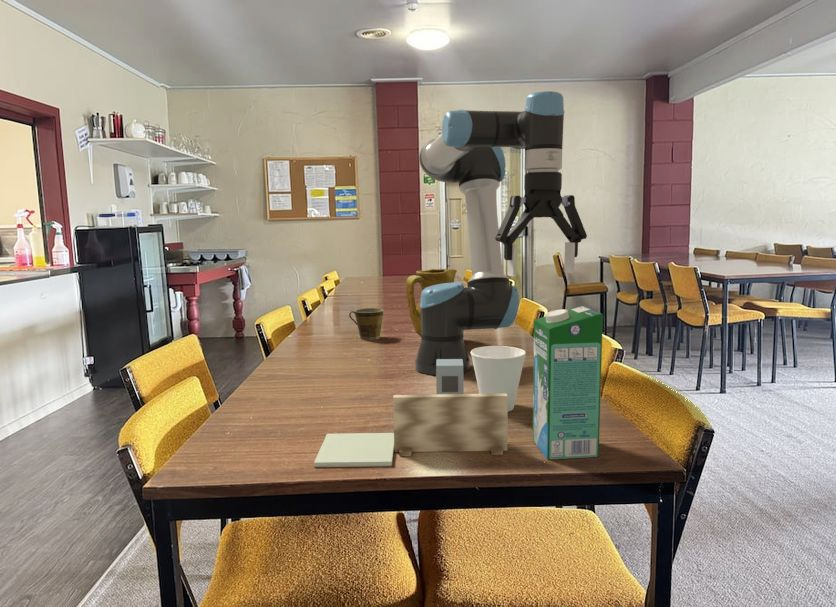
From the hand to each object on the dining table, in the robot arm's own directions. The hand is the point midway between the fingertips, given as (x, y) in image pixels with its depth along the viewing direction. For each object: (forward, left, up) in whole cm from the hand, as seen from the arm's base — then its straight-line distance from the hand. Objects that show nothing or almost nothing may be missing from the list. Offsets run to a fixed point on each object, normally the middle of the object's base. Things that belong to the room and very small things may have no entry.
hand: (540, 274), depth 120 cm
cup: (-4, -8, -29) cm, 30 cm away
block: (+2, -26, -29) cm, 38 cm away
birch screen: (+9, -30, -29) cm, 43 cm away
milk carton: (+20, -13, -29) cm, 37 cm away
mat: (0, -44, -29) cm, 53 cm away
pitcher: (-66, +18, -29) cm, 75 cm away
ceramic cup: (-88, +3, -29) cm, 93 cm away
